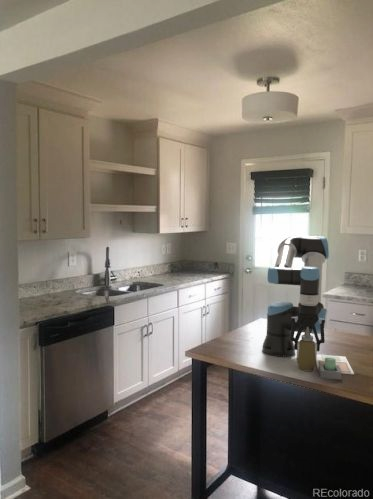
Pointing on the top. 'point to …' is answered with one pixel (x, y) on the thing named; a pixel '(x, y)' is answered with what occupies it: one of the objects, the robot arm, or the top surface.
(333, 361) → the button
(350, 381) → the top surface
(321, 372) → the button collar
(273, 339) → the robot arm
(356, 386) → the top surface
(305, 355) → the squeeze bottle
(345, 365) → the picture sheet
